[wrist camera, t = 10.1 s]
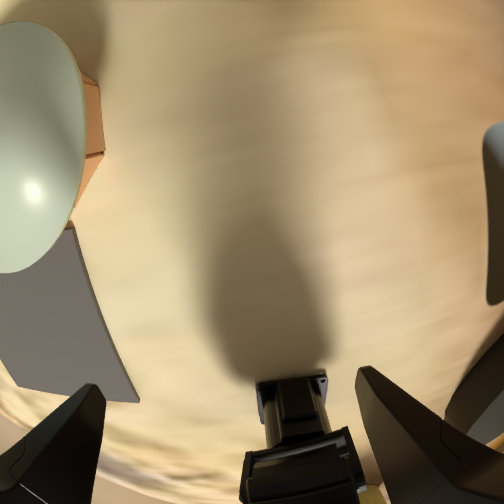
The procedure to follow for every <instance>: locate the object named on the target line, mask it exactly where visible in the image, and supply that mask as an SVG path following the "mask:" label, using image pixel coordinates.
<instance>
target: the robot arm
mask: <svg viewBox="0 0 504 504" xmlns="http://www.w3.org/2000/svg"><path fill="white" fill-rule="evenodd" d="M327 386H328V377H327V375H325V374H323V375H316V376H310V377H303V378H296V379H288V380H280V381H271V382H262V383H258V384H257V386H256V389H257V397H258V405H259V413H260V421H261V424H265V433H266V443H267V449H264V450H259V451H254V452H253V451H248V452H246V454H245V460H244V462H243V469H242V476H241V483H240V490H239V493H240V494H239V500H240V501H241V502H242V503H243V504H360V500H359V496H358V494H359V493H363V492H366V491H367V486H366V481H365V477H364V474H363V470H362V467H361V463H360V460H359V457H358V454H357V451H356V449H355V446H354V443H353V440H352V437H351V435H350V432H349V429H348V426H345V427H342V428H341V429H339V430H336V431H333V432H332V430H331V427H330V423H329V419H328V416H327V412H326V409H325V401H326V394H327ZM262 387H263V388H262ZM355 391H356V395H357V399H358V403H359V407H360V411H361V416H362V420H363V424H364V427H365V430H366V433H367V436H368V439H369V441H370V444H371V447H372V450H373V452H374V455H375V458H376V461H377V464H378V467H379V469H380V472H381V475H382V478H383V481H384V484H385V487H386V490H387V493H388V496H389V499H390V502H391V504H504V454H503V453H500V452H498V451H495V450H493V449H491V448H490V447H488V446H486V445H484V444H482V443H480V442H478V441H476V440H475V439H473V438H471V437H469V436H468V435H466V434H464V433H462V432H461V431H459V430H458V429H456V428H455V427H453V426H452V425H450V424H449V423H448V422H446V421H445V420H442V418H441V417H439V416H438V415H437V414H435V413H434V412H432V411H431V410H430V409H428V408H427V407H426V406H424V405H423V404H422V403H420V402H419V401H418V400H416V399H415V398H413V397H412V396H411V395H409V394H408V393H407V392H405V391H404V390H403V389H401V388H400V387H399V386H397V385H396V384H395V383H393V382H392V381H391V380H389V379H388V378H387V377H385V376H384V375H383V374H381V373H380V372H379V371H377V370H376V369H375V368H373V367H372V366H364V367H360V368H359V369H358V371H357V376H356V381H355ZM105 411H106V399H105V397H104V395H103V393H102V392H101V390H100V388H99V387H98V385H97V384H93V383H86V384H85V385H83V386H82V387H81V388H80V389H79V390H78V391H76V392H75V393H74V394H73V395H72V396H71V397H69V398H68V399H67V400H66V401H65V402H64V403H62V404H61V405H60V406H59V407H58V408H57V409H55V410H54V411H53V412H52V413H51V414H50V415H48V416H47V417H46V418H45V419H44V420H43V421H42V422H40V423H39V424H38V425H37V426H36V427H35V428H33V429H32V430H31V431H30V432H29V433H28V434H26V436H24V437H23V438H22V439H21V440H20V441H18V442H17V443H16V444H15V445H14V446H12V447H11V448H10V449H8V450H7V451H6V452H4V453H3V454H2V455H0V504H91V499H92V492H93V486H94V480H95V474H96V469H97V463H98V458H99V453H100V448H101V443H102V437H103V429H104V419H105Z"/></svg>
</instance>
